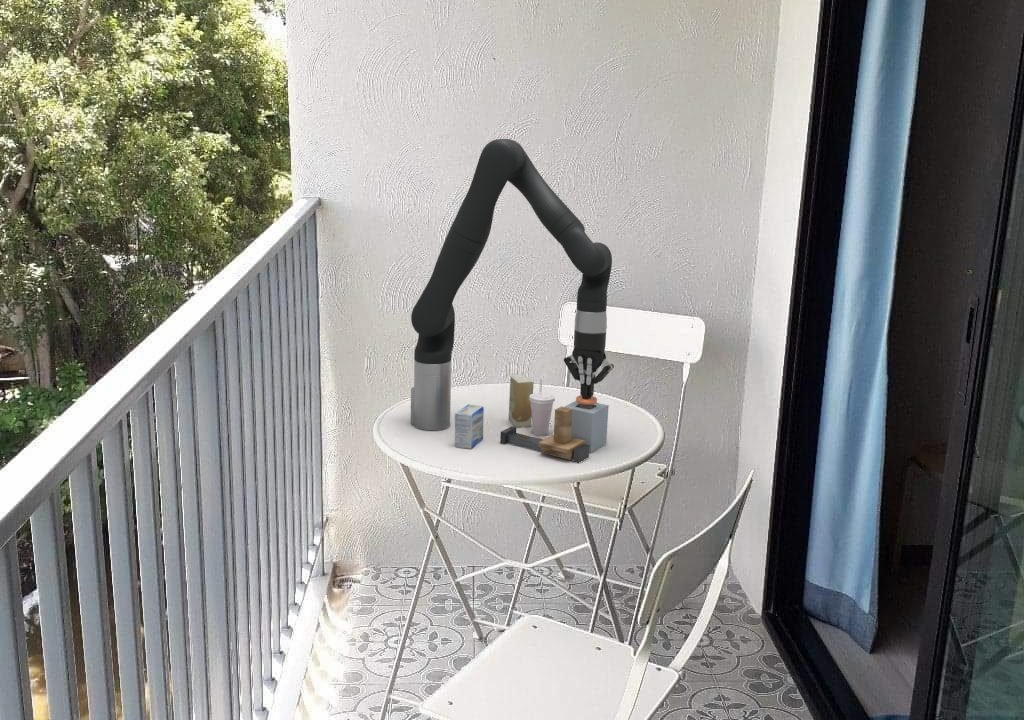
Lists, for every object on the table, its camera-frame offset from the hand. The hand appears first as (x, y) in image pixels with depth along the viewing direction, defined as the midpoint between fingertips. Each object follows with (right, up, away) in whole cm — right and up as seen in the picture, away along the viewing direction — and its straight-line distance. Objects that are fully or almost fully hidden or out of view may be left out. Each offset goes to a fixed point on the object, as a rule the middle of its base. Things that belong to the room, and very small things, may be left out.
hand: (586, 398), depth 241 cm
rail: (-10, -12, -1) cm, 16 cm away
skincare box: (-16, -7, +17) cm, 25 cm away
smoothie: (-11, -9, +11) cm, 18 cm away
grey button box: (0, -12, +3) cm, 12 cm away
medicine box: (-28, -11, +2) cm, 31 cm away
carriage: (-6, -13, -4) cm, 15 cm away
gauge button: (0, -7, +2) cm, 7 cm away
